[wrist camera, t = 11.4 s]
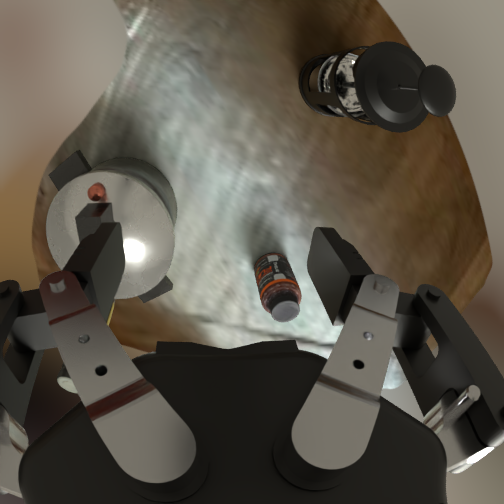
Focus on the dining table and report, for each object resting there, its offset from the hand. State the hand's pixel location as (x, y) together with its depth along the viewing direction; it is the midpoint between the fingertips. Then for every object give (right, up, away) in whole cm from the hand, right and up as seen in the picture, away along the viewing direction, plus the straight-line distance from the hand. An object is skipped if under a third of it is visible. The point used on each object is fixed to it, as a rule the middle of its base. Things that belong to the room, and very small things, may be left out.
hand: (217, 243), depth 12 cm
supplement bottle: (+5, -3, +38) cm, 38 cm away
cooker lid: (-16, +1, +21) cm, 27 cm away
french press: (+13, +23, +24) cm, 36 cm away
